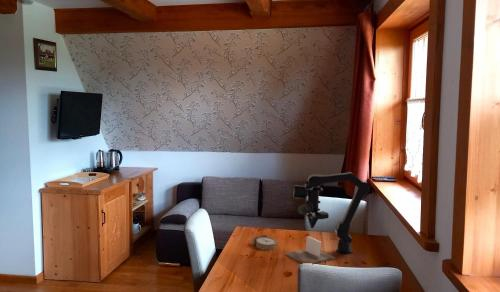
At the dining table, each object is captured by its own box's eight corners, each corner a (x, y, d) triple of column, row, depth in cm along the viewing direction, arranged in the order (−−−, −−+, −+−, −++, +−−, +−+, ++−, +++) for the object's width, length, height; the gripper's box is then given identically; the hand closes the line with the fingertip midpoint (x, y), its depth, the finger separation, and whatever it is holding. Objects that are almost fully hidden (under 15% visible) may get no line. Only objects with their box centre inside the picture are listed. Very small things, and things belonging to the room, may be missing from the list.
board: (313, 249, 206) (313, 247, 206) (334, 259, 193) (334, 257, 193) (285, 254, 197) (285, 253, 197) (305, 266, 183) (306, 263, 183)
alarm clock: (266, 246, 201) (248, 234, 212) (264, 255, 202) (246, 242, 213) (281, 242, 208) (263, 230, 219) (280, 250, 209) (262, 238, 220)
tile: (308, 236, 200) (307, 236, 199) (321, 242, 191) (320, 242, 191) (307, 249, 200) (305, 249, 200) (320, 255, 192) (318, 256, 191)
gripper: (289, 196, 206) (289, 225, 207) (312, 204, 190) (311, 235, 191) (306, 194, 211) (305, 222, 213) (329, 202, 196) (328, 232, 197)
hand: (312, 228), depth 203 cm, fingers closed
